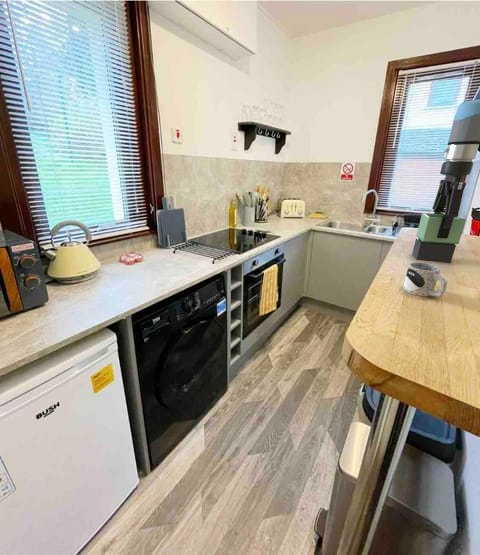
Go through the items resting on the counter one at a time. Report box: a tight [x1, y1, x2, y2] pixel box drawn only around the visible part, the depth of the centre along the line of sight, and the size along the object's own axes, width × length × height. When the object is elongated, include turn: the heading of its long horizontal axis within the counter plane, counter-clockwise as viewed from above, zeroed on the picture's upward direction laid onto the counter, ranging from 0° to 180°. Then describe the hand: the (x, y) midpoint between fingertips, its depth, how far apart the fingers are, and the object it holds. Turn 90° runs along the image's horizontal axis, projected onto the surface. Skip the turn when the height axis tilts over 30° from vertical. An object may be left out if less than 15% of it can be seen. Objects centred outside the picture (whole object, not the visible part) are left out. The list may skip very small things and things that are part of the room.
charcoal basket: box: [411, 237, 457, 264], centre depth 93 cm, size 10×6×6 cm, turn 72°
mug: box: [402, 261, 448, 298], centre depth 68 cm, size 10×7×7 cm, turn 14°
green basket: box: [416, 212, 467, 245], centre depth 90 cm, size 10×8×8 cm
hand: (437, 234), depth 91 cm, fingers closed on green basket, 8 cm apart
